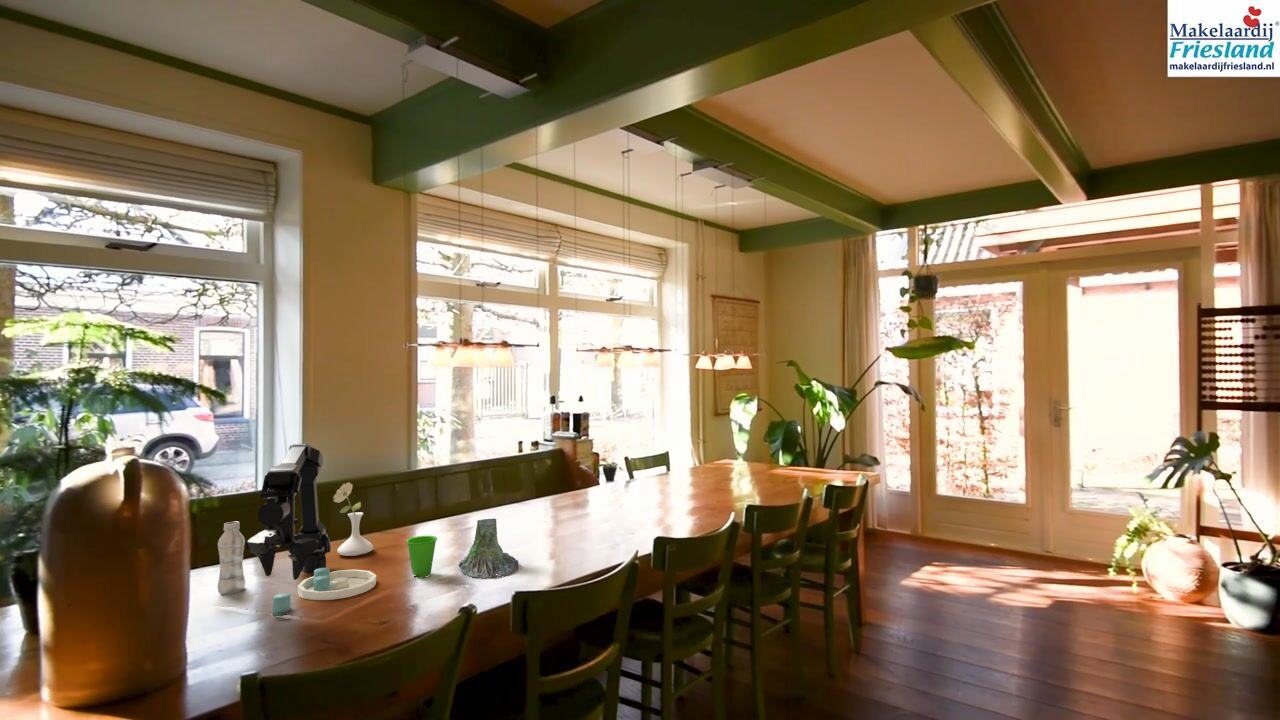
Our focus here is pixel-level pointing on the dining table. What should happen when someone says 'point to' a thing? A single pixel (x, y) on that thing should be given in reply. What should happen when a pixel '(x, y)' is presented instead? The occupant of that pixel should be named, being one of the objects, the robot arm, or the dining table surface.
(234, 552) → the plastic bottle
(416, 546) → the cup
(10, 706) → the dining table surface
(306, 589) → the groove tray
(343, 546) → the flower in vase
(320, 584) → the bead
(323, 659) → the dining table surface
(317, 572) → the bead seated
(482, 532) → the tree stump
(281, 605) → the bead
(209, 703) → the dining table surface
